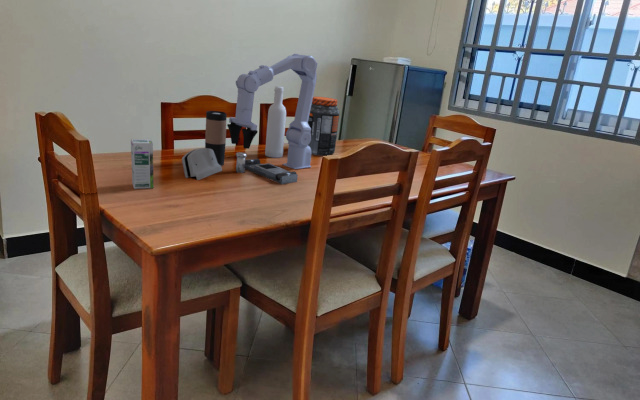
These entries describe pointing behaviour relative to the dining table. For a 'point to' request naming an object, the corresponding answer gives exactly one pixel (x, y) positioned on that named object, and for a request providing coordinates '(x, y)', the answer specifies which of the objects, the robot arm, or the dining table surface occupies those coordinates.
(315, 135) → the supplement tub
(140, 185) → the syrup box
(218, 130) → the travel mug
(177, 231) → the dining table surface
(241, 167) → the steel pin
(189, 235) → the dining table surface
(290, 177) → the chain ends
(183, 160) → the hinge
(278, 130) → the bottle
